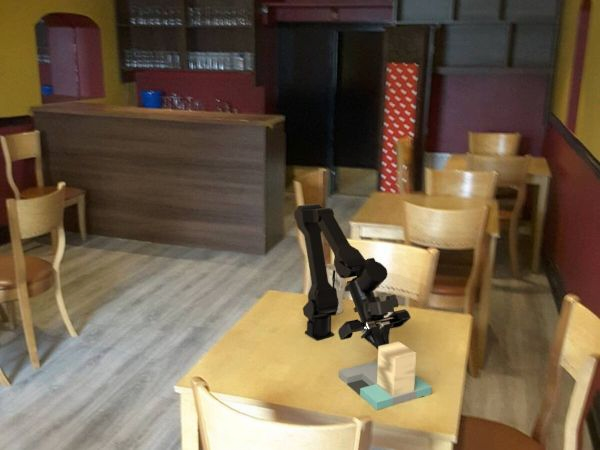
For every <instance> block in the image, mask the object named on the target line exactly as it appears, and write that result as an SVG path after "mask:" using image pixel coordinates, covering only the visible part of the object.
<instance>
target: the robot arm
mask: <svg viewBox="0 0 600 450" xmlns="http://www.w3.org/2000/svg"><path fill="white" fill-rule="evenodd" d="M293 217H294V221H295V223H296V226H297V229H298V230H299V231H300V233H301V234H302V235H303V237H304V242H305V248H306V254H307V255H306V256H307V262H308V267H309V268H308V269H309V275H310V281H311V286H310V289H309V290H308V293H307V299H308V300H307V302H306V304H304V306H303V307H302V311H303V315H304V316H305V317H306V318H307V319H308V320H307V321H306V330H305V331H304V334H305V335H307V336H308V337H310V338H312V339H314V340H316V341H320V340H324V339H328V338H330V337H333V336H335V333H334V332H332V317H333V316H337V314H336V313H337V309H338V305H339V301H338V297H337V290H336V288H335V287H332V286H331V285H330V283H329V282H328V276H327V270H326V265H327V264H326V259H325V253H324V252H325V251H324V243H323V239H322V234H323V236H324V238H325V240H326V241H327V244H328V245H329V248H330V249H331V252H332V253H333V255H334V256H333V257H334V258H333V264H334V266H335V268H336V272H337V274H338V275H339V276H340V277H341V278H346V279H349V278H352V279H351V280H346V284H345V289H344V292H346V293H347V292H349V294H350V296H351V299H352V301H353V304H354V306H355V307H354V308H353V311H354V313H358V317H359V319H357V318H356V319H352V320H348V321H345V322H344V323H343V324H342V325H341V326H340V327H339V329H338V331H337V333H338V336H339V338H340V341H343V340H347V339H351V338H352V336H353V334H354V333H357V332H361V333H362V335H361V336H360V339H365V340H366V341H367V342H368V343H370V345H372V346H373V347H375V349H376V350H378V346H382V345H386V344H390V331H391V329H392V328H393V329H397V328H400V327H402V326H404V325H405V324H406V323H407V322H408V321H410V320H411V319H412V317H411V315H410V313H409V311H408V310H407V309H405V308H403V309H399V310H395V309H394V308H399V301H398V298H397V296H396V295H395V294H392V295H387V296H385V300H381V299H380V297H379V296H376V295H375V293H374V291H375V290H376V289H378V287H380V286H381V285H382V284H383V283H384V281H386V279H387V278H388V269H387V268H386V267H385V266H384V264H382V263H380V262H379V261H377V260H376V259H375V257H368V258H366V259H365V257H364V256H363V254H362V253H361V251H360V250H359V249H357V248H356V247H354V246H352V245H351V244H350V242H349V240H348V239H347V237H346V235H345V233H344V232H343V230H342V228H341V226H340V225H339V222H338V221H337V219H336V217H335V213H334V210H333V208H331V207H328V206H322V205H320V204H319V203H310V204H309V203H308V204H301V205H297V207H296V209H294V212H293ZM388 312H392V314H391V315H389V316H388V317H386V318H384V316H386V315H387V314H388ZM390 328H391V329H390ZM393 329H392V330H393Z"/></svg>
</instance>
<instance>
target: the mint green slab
mask: <svg viewBox="0 0 600 450" xmlns="http://www.w3.org/2000/svg"><path fill="white" fill-rule="evenodd" d="M432 388H433V386H431V385H430V384H428V383H427V382H426V381H424V380H422V379H421V378H420V377H418V376H417V375H416V374H415V382H414V389H415V390H416V391H417V397H416V398H417V399H419V398H418V397H420V398H422V397H421V396H424V397H426V395H427V396H430V395H432ZM429 394H430V395H429ZM359 397H361V398H362V399H363V400H364V401H365V402H366V403H368V404H369V405H370V406H371V407H372V408H373V409H375V410H376V411H379V410H382V409H386V408H389V406H390V407H393V406H394V405H393V398H392V397H391V396H390V395H389V394H387V393H386V392H385V391H384V390H382V389H381V388H380V387H379V386H377V385H376V384H375V385H371V386H367V387H364V388H360V395H359ZM392 405H393V406H392Z"/></svg>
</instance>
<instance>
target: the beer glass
mask: <svg viewBox="0 0 600 450" xmlns="http://www.w3.org/2000/svg"><path fill="white" fill-rule="evenodd" d="M326 270H327V276H328V282H329V283H330V285H331V286H332V287H335V288H336V290H337V297H338V301H339V305H338V309H337V313H336V315H339V314H342V313H344V305H343V300H344V299H343V298H344V294H345V287H346V283H347V280H346V279H347V278H341V277H340V276H339V275H338V274H337V272H336V268H335V266H334V263H328V264H326Z"/></svg>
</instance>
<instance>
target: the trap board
mask: <svg viewBox="0 0 600 450" xmlns="http://www.w3.org/2000/svg"><path fill="white" fill-rule="evenodd" d="M377 370H378V359H377V360H374V361H370V362H366V363H365V362H364V363H362V364H358V365H353V366H351V367H346V368H342V369H338V378H339V379H340V380H341V381H342V382H343V383H345V384H346V386H348V387H349V388H350V389H352V391H354V392H355V393H356V394H357V395H358V396H360V388H364V387H367V386H371V385H375V384H376V385H377V386H379V387H380V388H381V389H382V390H384V391H385V392H386V393H387V394H389V395H390V396H391V397H392V398H393V406H396V405H399V404H398V403H400V404H403V403H406V402H405V401H407V402H410V401H413V400H416V399H415V398H416V397H417V391H416V390H415V389H414V391H411V392H408V393H405V394H401V395H398V396H394V397H393V396H392V395H391V394H390V393H388V392H387V391H386V390H385V389H383V388H382V387H381V386H380V385H378V384H377ZM412 399H413V400H412ZM409 400H410V401H409ZM402 402H403V403H402ZM395 404H396V405H395Z"/></svg>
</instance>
